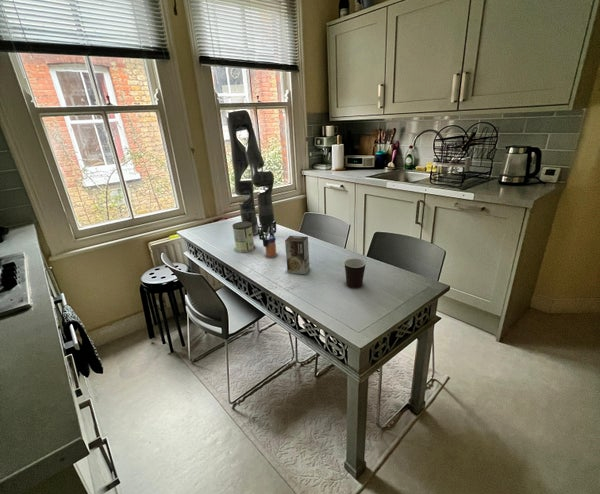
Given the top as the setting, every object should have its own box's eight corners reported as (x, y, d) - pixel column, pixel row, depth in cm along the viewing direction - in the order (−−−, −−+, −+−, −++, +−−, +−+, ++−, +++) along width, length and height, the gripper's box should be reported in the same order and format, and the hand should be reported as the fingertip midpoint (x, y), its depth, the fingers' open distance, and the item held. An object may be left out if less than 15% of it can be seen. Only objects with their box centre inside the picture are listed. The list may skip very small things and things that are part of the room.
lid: (261, 241, 160) (261, 238, 159) (268, 237, 164) (267, 234, 164) (271, 243, 157) (271, 239, 156) (277, 239, 162) (277, 235, 161)
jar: (268, 252, 167) (266, 236, 163) (278, 253, 166) (276, 236, 162) (264, 257, 163) (262, 240, 159) (274, 257, 161) (272, 240, 157)
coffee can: (238, 245, 180) (235, 221, 174) (256, 245, 179) (253, 221, 173) (233, 252, 170) (229, 227, 165) (252, 252, 169) (249, 227, 164)
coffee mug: (360, 291, 127) (360, 269, 123) (340, 286, 132) (340, 264, 127) (370, 279, 136) (371, 258, 132) (351, 275, 140) (352, 254, 136)
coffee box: (309, 268, 148) (308, 236, 142) (305, 274, 143) (304, 241, 136) (291, 266, 151) (289, 235, 144) (286, 272, 145) (284, 240, 139)
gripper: (267, 208, 162) (270, 238, 169) (251, 216, 151) (254, 248, 158) (279, 209, 159) (282, 240, 166) (264, 217, 148) (267, 250, 155)
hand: (268, 244), depth 162 cm, fingers closed on lid, 5 cm apart
